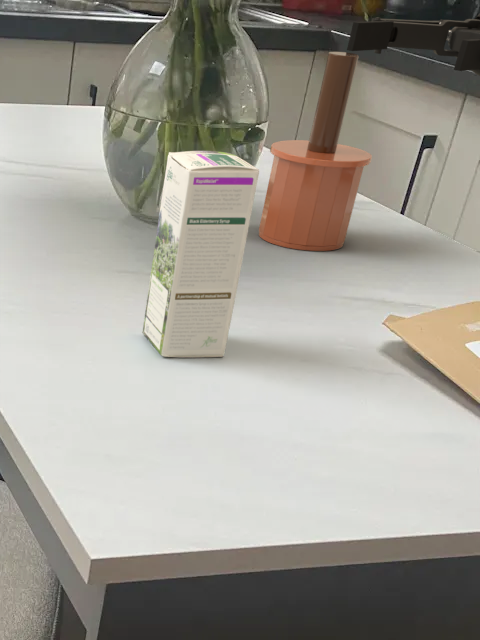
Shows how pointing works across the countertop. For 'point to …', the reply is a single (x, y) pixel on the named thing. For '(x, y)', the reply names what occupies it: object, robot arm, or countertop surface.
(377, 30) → the robot arm
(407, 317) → the countertop surface
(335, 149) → the lid
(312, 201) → the jar
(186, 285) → the syrup box
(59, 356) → the countertop surface
